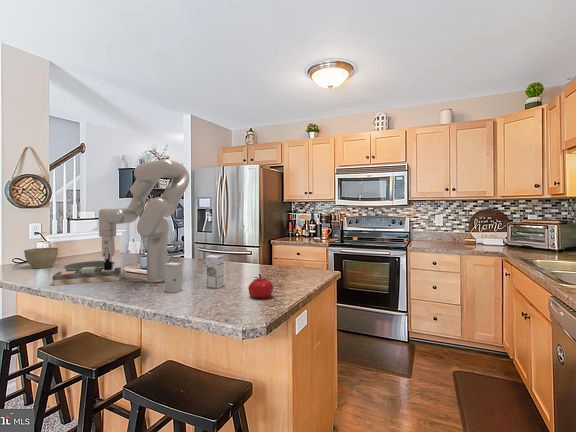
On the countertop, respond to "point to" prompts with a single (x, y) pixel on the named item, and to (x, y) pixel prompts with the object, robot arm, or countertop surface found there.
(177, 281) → the skincare box
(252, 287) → the pomegranate
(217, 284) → the syrup box
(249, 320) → the countertop surface
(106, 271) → the key
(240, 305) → the countertop surface
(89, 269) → the key middle
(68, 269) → the cake pan
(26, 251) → the planter bowl
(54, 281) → the keypad
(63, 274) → the key
